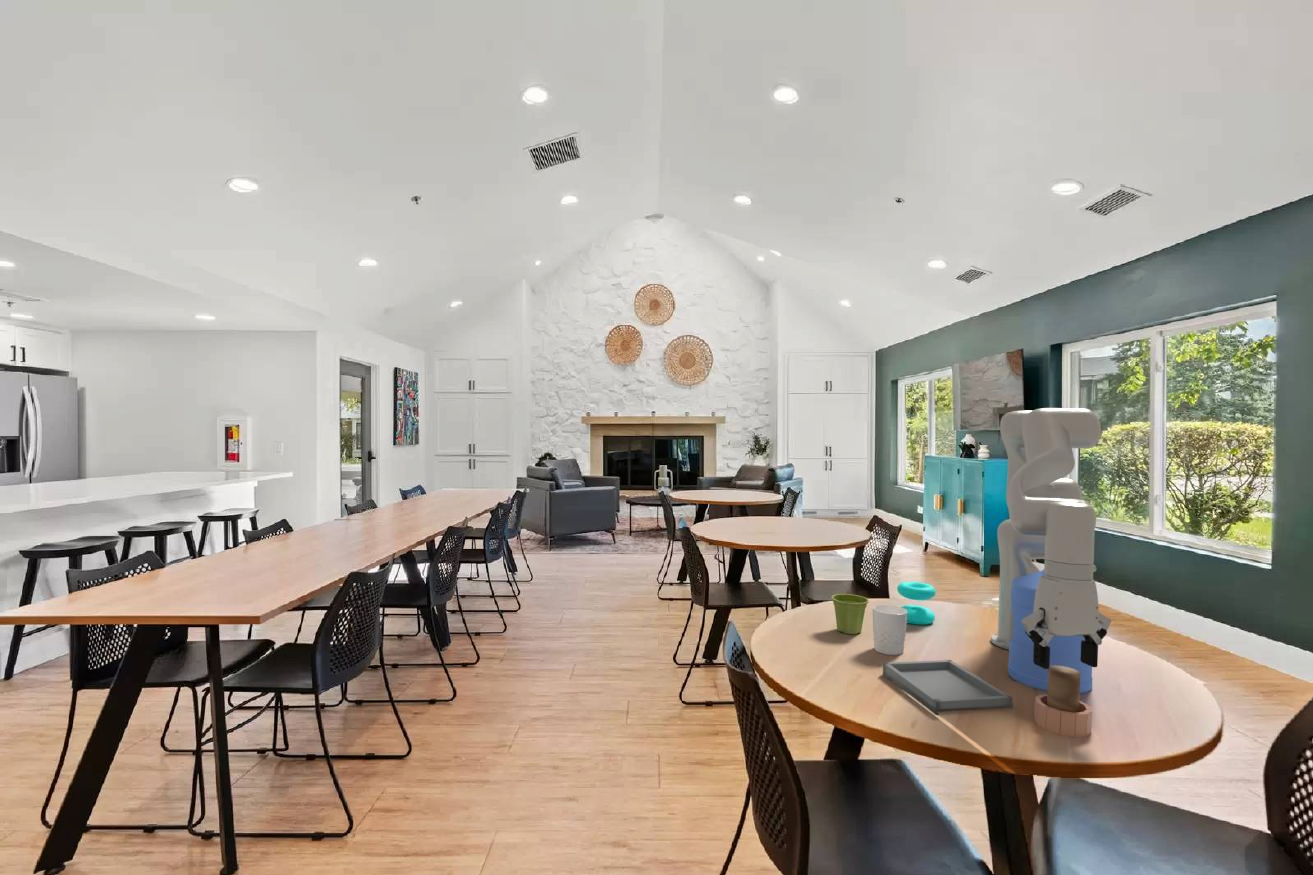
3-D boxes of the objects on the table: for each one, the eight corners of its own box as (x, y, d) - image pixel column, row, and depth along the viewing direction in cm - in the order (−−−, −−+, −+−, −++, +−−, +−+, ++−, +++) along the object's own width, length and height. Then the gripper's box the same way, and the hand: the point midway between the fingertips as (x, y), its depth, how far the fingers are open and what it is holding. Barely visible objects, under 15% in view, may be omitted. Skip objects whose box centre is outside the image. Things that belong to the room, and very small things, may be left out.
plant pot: (828, 624, 180) (829, 592, 180) (864, 626, 179) (865, 594, 179) (832, 635, 171) (833, 602, 171) (870, 638, 170) (871, 604, 170)
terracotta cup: (1064, 716, 126) (1065, 693, 126) (1102, 738, 118) (1103, 713, 118) (1024, 719, 125) (1024, 695, 125) (1058, 741, 116) (1059, 715, 116)
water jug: (1111, 695, 137) (1116, 559, 136) (1042, 698, 134) (1048, 560, 134) (1053, 666, 152) (1058, 544, 151) (991, 669, 150) (996, 545, 149)
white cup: (901, 646, 164) (902, 605, 164) (910, 657, 157) (911, 615, 156) (868, 644, 165) (869, 604, 165) (875, 655, 157) (876, 613, 157)
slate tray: (949, 671, 148) (950, 659, 148) (1011, 710, 129) (1012, 697, 128) (882, 674, 146) (883, 662, 146) (935, 714, 126) (936, 701, 126)
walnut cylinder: (1063, 718, 124) (1065, 665, 124) (1085, 730, 119) (1087, 675, 119) (1039, 719, 123) (1041, 666, 123) (1060, 732, 118) (1062, 676, 118)
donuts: (902, 578, 192) (939, 584, 187) (900, 613, 193) (937, 619, 187) (893, 585, 184) (931, 591, 179) (892, 621, 184) (930, 628, 179)
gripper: (1093, 566, 125) (1090, 657, 126) (1010, 567, 123) (1007, 659, 123) (1128, 575, 118) (1124, 671, 118) (1040, 576, 115) (1037, 674, 115)
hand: (1065, 665), depth 120 cm, fingers open, 9 cm apart
